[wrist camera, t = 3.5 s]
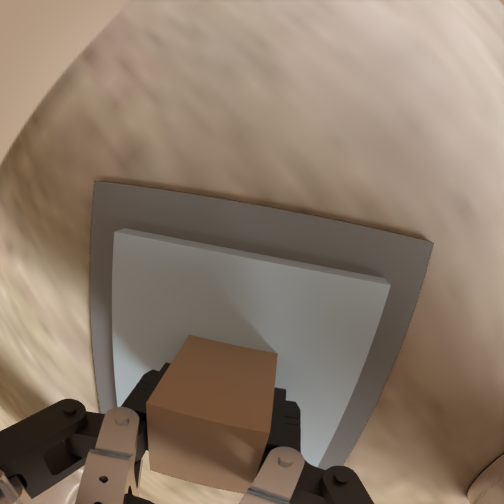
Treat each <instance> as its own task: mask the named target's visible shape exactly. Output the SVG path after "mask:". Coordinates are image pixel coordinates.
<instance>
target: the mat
mask: <svg viewBox="0 0 504 504" xmlns="http://www.w3.org/2000/svg"><path fill="white" fill-rule="evenodd" d="M124 228H127V229H132V230H137V231H143V232H148V233H153V234H158V235H163V236H169V237H174V238H179V239H184V240H189V241H194V242H200V243H205V244H210V245H215V246H220V247H226V248H231V249H236V250H241V251H246V252H252V253H257V254H262V255H267V256H272V257H278V258H283V259H288V260H293V261H299V262H304V263H309V264H314V265H319V266H325V267H330V268H335V269H340V270H345V271H351V272H356V273H361V274H366V275H371V276H377V277H382V278H385V279H386V280H387V282H388V283H389V284H390V285H391V286H390V289H389V293H388V296H387V299H386V302H385V306H384V309H383V312H382V315H381V318H380V321H379V324H378V327H377V330H376V333H375V336H374V339H373V342H372V344H371V347H370V350H369V353H368V355H367V358H366V361H365V363H364V366H363V368H362V371H361V374H360V376H359V379H358V381H357V383H356V386H355V388H354V391H353V393H352V395H351V398H350V400H349V402H348V405H347V407H346V409H345V412H344V414H343V416H342V418H341V420H340V423H339V425H338V427H337V429H336V431H335V433H334V435H333V437H332V439H331V441H330V443H329V445H328V447H327V449H326V451H325V453H324V455H323V457H322V459H321V461H320V463H319V465H318V468H321V469H324V470H327V469H328V468H330V467H332V466H343V464H344V463H345V461H346V459H347V458H348V456H349V454H350V452H351V451H352V449H353V447H354V445H355V443H356V442H357V440H358V438H359V436H360V434H361V432H362V430H363V429H364V427H365V425H366V423H367V421H368V419H369V417H370V415H371V413H372V411H373V409H374V407H375V405H376V403H377V401H378V398H379V396H380V394H381V392H382V390H383V388H384V385H385V383H386V381H387V379H388V376H389V374H390V372H391V369H392V367H393V365H394V362H395V360H396V357H397V355H398V352H399V350H400V347H401V345H402V342H403V340H404V337H405V334H406V332H407V329H408V326H409V323H410V320H411V318H412V315H413V312H414V309H415V306H416V303H417V300H418V297H419V293H420V290H421V287H422V284H423V280H424V277H425V273H426V270H427V266H428V263H429V259H430V255H431V251H432V248H433V244H434V243H432V242H430V241H427V240H423V239H419V238H415V237H411V236H407V235H402V234H398V233H394V232H389V231H385V230H381V229H376V228H372V227H367V226H363V225H358V224H353V223H349V222H344V221H339V220H335V219H330V218H325V217H320V216H315V215H310V214H305V213H300V212H295V211H289V210H284V209H279V208H274V207H268V206H263V205H257V204H251V203H246V202H240V201H234V200H228V199H222V198H216V197H210V196H204V195H198V194H191V193H185V192H178V191H172V190H165V189H158V188H151V187H144V186H137V185H129V184H121V183H114V182H105V181H95V184H94V194H93V206H92V219H91V238H90V315H91V333H92V347H93V358H94V368H95V377H96V385H97V393H98V400H99V406H100V413H101V414H106V412H107V411H108V410H110V409H111V408H114V407H117V398H116V387H115V375H114V360H113V338H112V266H113V244H114V232H115V231H118V230H121V229H124Z"/></svg>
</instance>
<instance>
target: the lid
mask: <svg viewBox="0 0 504 504" xmlns="http://www.w3.org/2000/svg"><path fill="white" fill-rule="evenodd" d="M390 286H391V285H390V284H389V283H388V282H387V280H386V279H385V278H382V277H377V276H371V275H366V274H361V273H356V272H351V271H345V270H340V269H335V268H330V267H325V266H319V265H314V264H309V263H304V262H299V261H293V260H288V259H283V258H278V257H272V256H267V255H262V254H257V253H252V252H246V251H241V250H236V249H231V248H226V247H220V246H215V245H210V244H205V243H200V242H194V241H189V240H184V239H179V238H174V237H169V236H163V235H158V234H153V233H148V232H143V231H137V230H132V229H127V228H124V229H121V230H118V231H115V232H114V244H113V266H112V338H113V360H114V375H115V387H116V398H117V407H121V405H122V404H123V403H124V401H125V400H126V398H127V397H128V396H129V394H130V393H131V391H132V390H133V389H134V388H135V386H136V385H137V383H138V382H139V380H140V379H141V378H142V376H143V375H144V374H145V373H147V372H149V371H151V370H152V369H153V370H156V371H160V370H161V368H162V367H163V365H164V364H165V363H166V362H167V363H171V364H170V366H169V367H168V369H167V371H166V372H165V374H164V375H163V377H162V379H161V380H160V382H159V383H158V385H157V386H156V388H155V390H154V391H153V393H152V394H151V396H150V398H149V399H148V401H147V402H146V411H147V432H148V448H149V462H150V470H152V471H155V472H158V473H161V474H165V475H168V476H171V477H175V478H178V479H182V480H185V481H189V482H193V483H196V484H200V485H204V486H209V487H213V488H217V489H222V490H227V491H232V492H237V493H243V494H245V492H246V491H247V489H248V488H250V487H251V485H252V483H253V482H254V479H255V477H256V474H257V471H258V468H259V465H260V462H261V459H262V456H263V453H264V450H265V447H266V444H267V441H268V438H269V434H270V428H271V419H272V409H273V399H274V389H275V387H277V388H283V389H286V400H288V401H294V402H296V403H297V405H298V406H299V408H300V410H301V419H300V420H301V425H300V427H301V454H302V455H303V457H304V459H305V460H306V461H307V462H308V463H309V464H311V465H313V466H315V467H318V465H319V463H320V461H321V459H322V457H323V455H324V453H325V451H326V449H327V447H328V445H329V443H330V441H331V439H332V437H333V435H334V433H335V431H336V429H337V427H338V425H339V423H340V420H341V418H342V416H343V414H344V412H345V409H346V407H347V405H348V402H349V400H350V398H351V395H352V393H353V391H354V388H355V386H356V383H357V381H358V379H359V376H360V374H361V371H362V368H363V366H364V363H365V361H366V358H367V355H368V353H369V350H370V347H371V344H372V342H373V339H374V336H375V333H376V330H377V327H378V324H379V321H380V318H381V315H382V312H383V309H384V306H385V302H386V299H387V296H388V293H389V289H390Z"/></svg>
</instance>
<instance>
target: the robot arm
mask: <svg viewBox="0 0 504 504" xmlns="http://www.w3.org/2000/svg"><path fill="white" fill-rule="evenodd" d="M170 364H171V363H167V362H166V363H165V364H164V365H163V367H162V368H161V370H160V371H156V370H153V369H152V370H151V371H149V372H147V373H145V374H144V375H143V376H142V378H141V379H140V380H139V382H138V383H137V385H136V386H135V388H134V389H133V390H132V391H131V393H130V394H129V396H128V397H127V398H126V400H125V401H124V403H123V404H122V405H121V407H114V408H111V409H110V410H108V411H107V412H106V414H100V413H93V412H87V411H86V409H85V406H84V405H83V404H82V403H81V402H79V401H77V400H74V399H64V400H61V401H59V402H57V403H55V404H53V405H51V406H49V407H47V408H45V409H43V410H41V411H40V412H38V413H36V414H34V415H32V416H30V417H28V418H26V419H24V420H22V421H20V422H18V423H16V424H14V425H12V426H10V427H8V428H6V429H4V430H2V431H0V504H32V499H33V498H35V497H36V496H38V495H40V494H41V493H43V492H44V491H46V490H48V489H49V488H51V487H52V486H54V485H55V484H57V483H58V482H60V481H62V480H63V479H65V478H66V477H68V476H69V475H71V474H72V473H74V472H75V471H77V470H78V469H80V468H81V467H82V466H84V465H85V466H84V470H83V473H82V477H81V481H80V485H79V489H78V493H77V497H76V501H75V504H154V503H152V502H151V501H148V500H145V499H143V498H140V497H139V487H140V478H141V470H142V462H143V459H142V457H143V455H144V453H145V451H146V450H148V451H149V448H148V432H147V411H146V402H147V401H148V399H149V398H150V396H151V394H152V393H153V391H154V390H155V388H156V386H157V385H158V383H159V382H160V380H161V379H162V377H163V375H164V374H165V372H166V371H167V369H168V367H169V366H170ZM300 419H301V410H300V408H299V406H298V405H297V403H296V402H294V401H288V400H286V389H283V388H277V387H275V389H274V399H273V409H272V419H271V428H270V434H269V438H268V441H267V444H266V447H265V450H264V453H263V456H262V459H261V462H260V465H259V468H258V471H257V474H256V477H255V480H254V482H253V483H252V485H251V487H250V488H248V489H247V491H246V492H245V494H244V496H243V497H242V499H241V501H240V502H239V504H374V502H373V501H372V499H371V497H370V496H369V494H368V492H367V491H366V489H365V487H364V486H363V484H362V482H361V481H360V479H359V477H358V476H357V474H356V473H355V472H354V471H353V470H352V469H350V468H348V467H345V466H332V467H330V468H328V469H327V470H324V469H321V468H318V467H315V466H313V465H311V464H309V463H308V462H307V461H306V460H305V459H304V457H303V455H302V454H301V427H300V425H301V420H300ZM467 497H468V500H469V502H470V504H504V454H503V455H502V456H500V457H499V458H498V459H497V460H496V461H494V462H493V463H492V464H491V465H490V466H489V467H488V468H487V469H486V470H484V471H483V472H482V473H481V475H480V476H479V477H478V478H477V479H476V480H475V481H474V483H473V484H472V485H471V487H470V489H469V490H468V494H467Z"/></svg>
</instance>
